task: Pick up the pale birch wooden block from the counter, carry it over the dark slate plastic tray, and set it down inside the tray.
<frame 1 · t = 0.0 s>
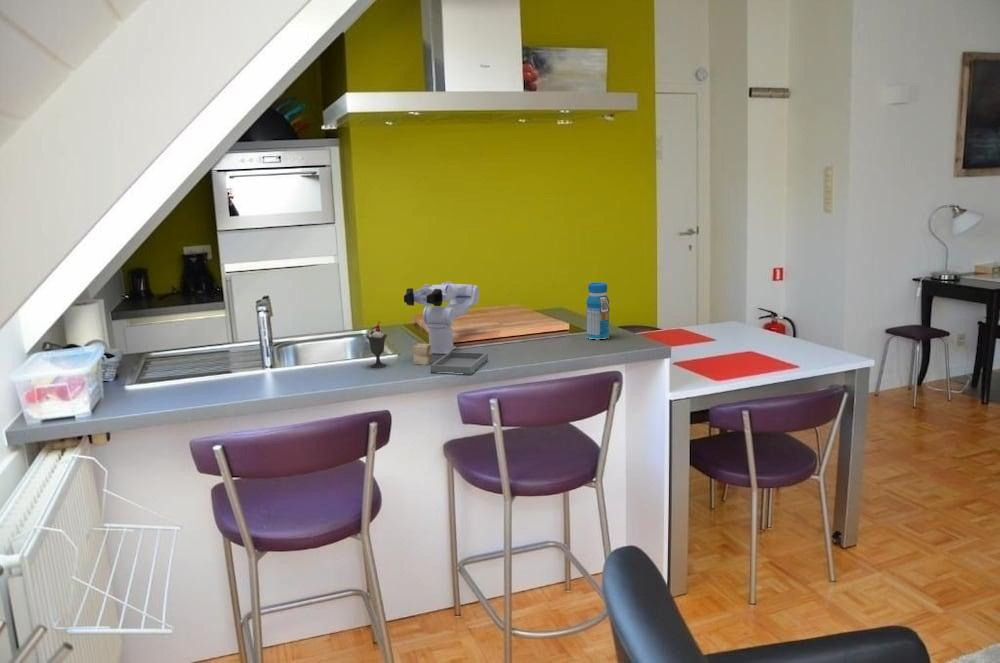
hand: (416, 299, 248), 22 cm above the worktop, tool horizontal, fingers open, 7 cm apart
tray: (460, 366, 250), on the worktop
sundae: (378, 366, 254), on the worktop
beverage bottle: (597, 338, 284), on the worktop
block: (422, 363, 256), on the worktop
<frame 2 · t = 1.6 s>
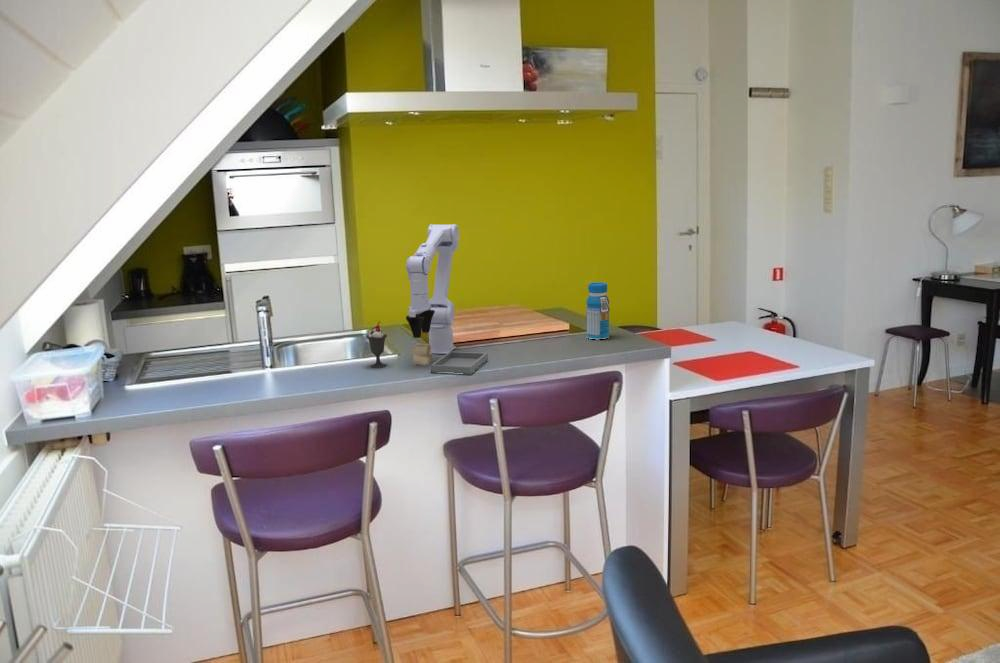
hand: (421, 334, 254), 9 cm above the worktop, tool pointing down, fingers open, 7 cm apart
nothing on the worktop moved.
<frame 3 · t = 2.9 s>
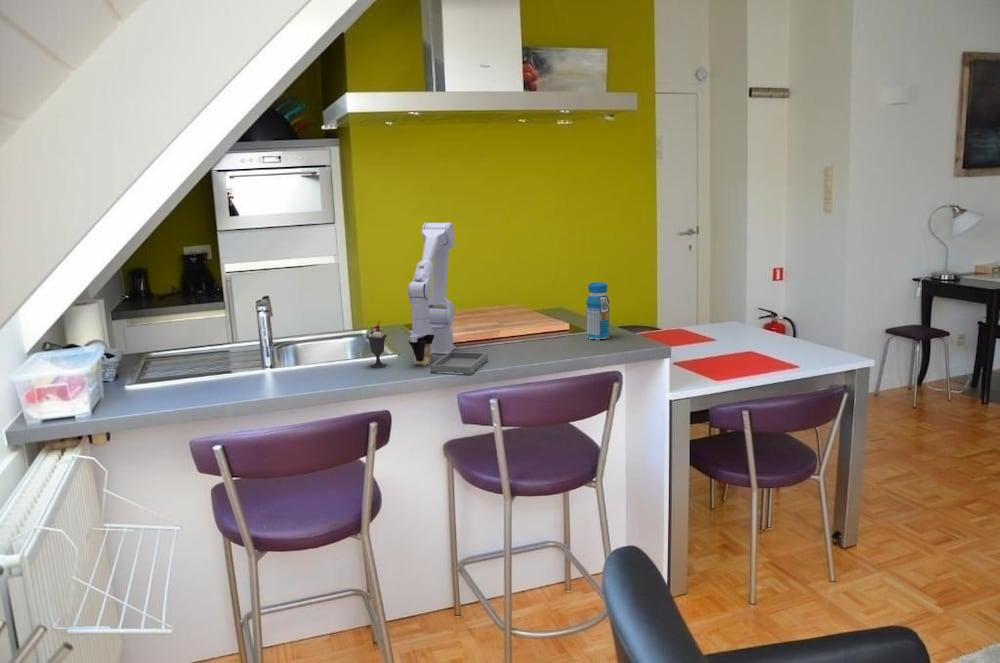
hand: (422, 358, 255), 1 cm above the worktop, tool pointing down, fingers closed on block, 4 cm apart
block: (422, 363, 256), on the worktop, touching gripper
everything else where it was.
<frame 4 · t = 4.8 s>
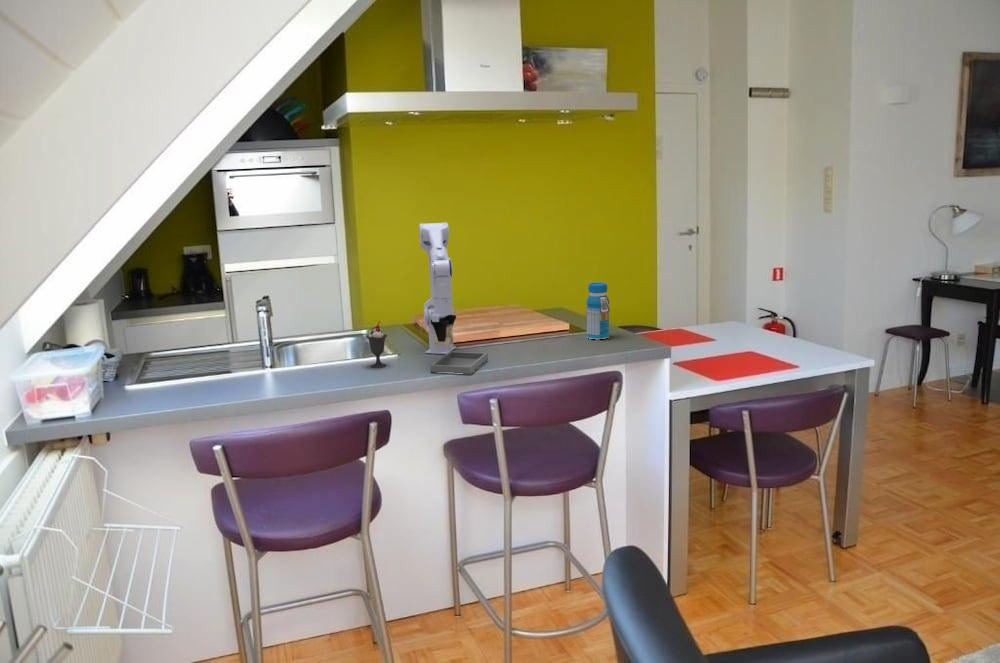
hand: (444, 339, 250), 8 cm above the worktop, tool pointing down, fingers closed on block, 4 cm apart
block: (443, 344, 251), point 7 cm above the worktop, touching gripper
everything else where it was.
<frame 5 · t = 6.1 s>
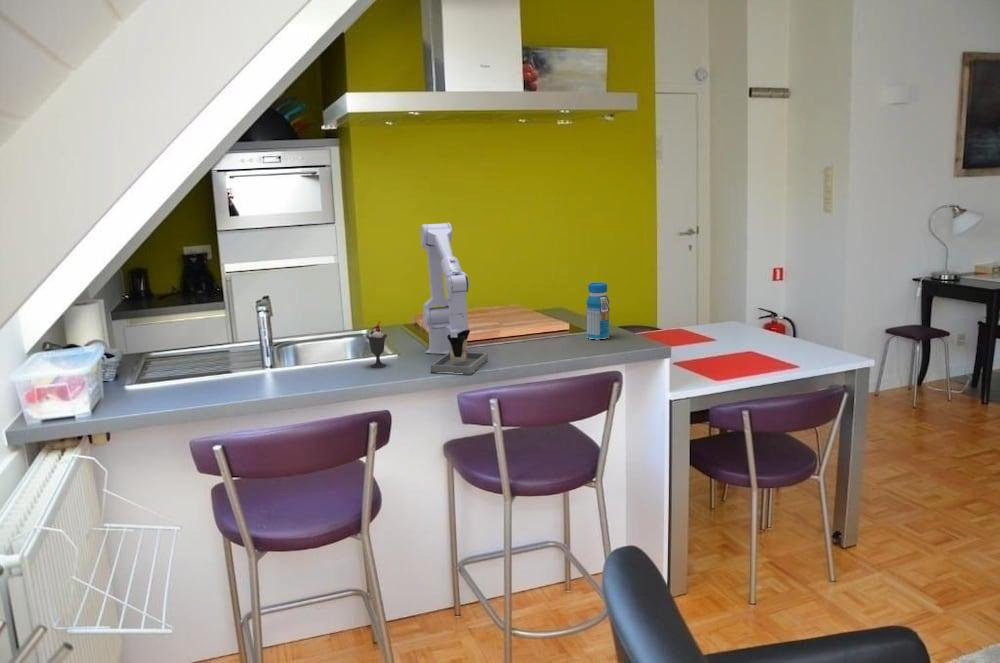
hand: (459, 354, 249), 4 cm above the worktop, tool pointing down, fingers closed on block, 4 cm apart
block: (458, 359, 250), point 2 cm above the worktop, touching gripper
everything else where it was.
when the fingers open (4 cm above the worktop, at t = 6.8 s): block drops 2 cm, resting on tray.
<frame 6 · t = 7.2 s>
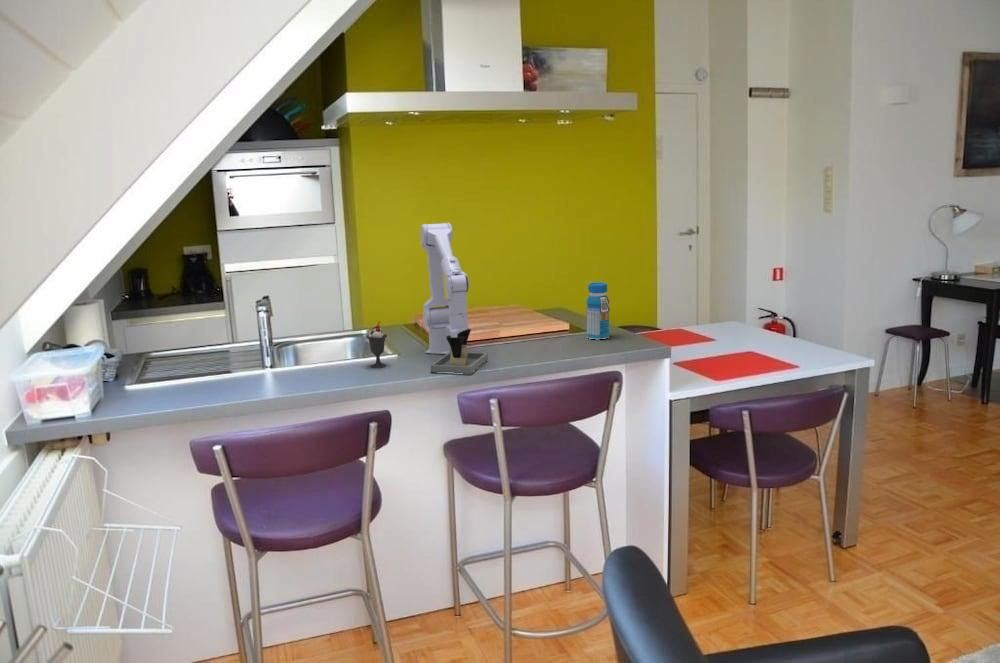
hand: (459, 354, 249), 4 cm above the worktop, tool pointing down, fingers open, 7 cm apart
block: (459, 364, 250), point 1 cm above the worktop, touching tray
everything else where it was.
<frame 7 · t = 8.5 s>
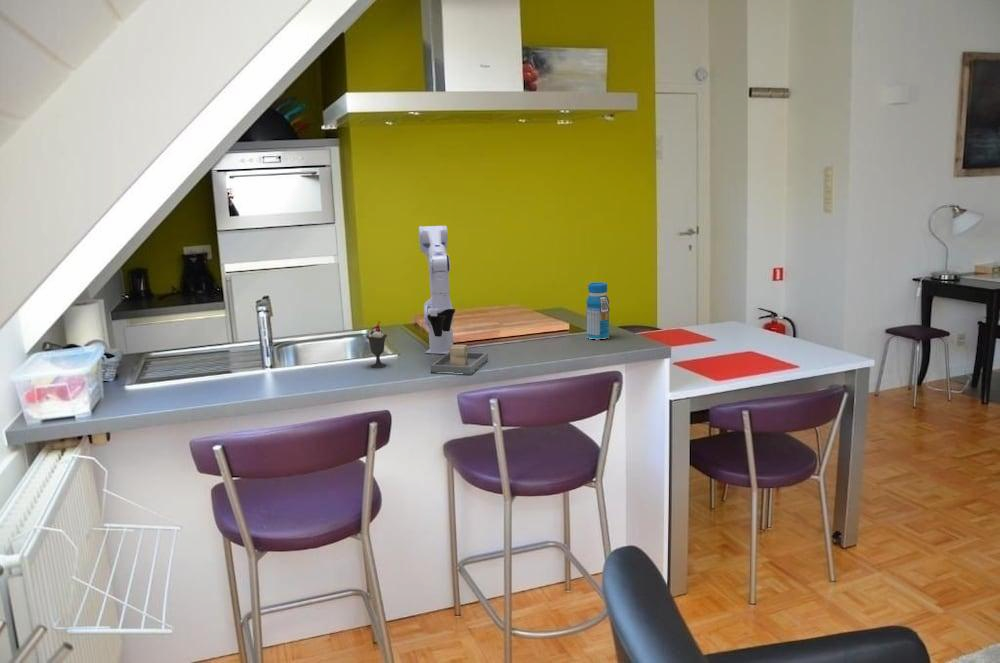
hand: (442, 333, 255), 9 cm above the worktop, tool pointing down, fingers open, 7 cm apart
nothing on the worktop moved.
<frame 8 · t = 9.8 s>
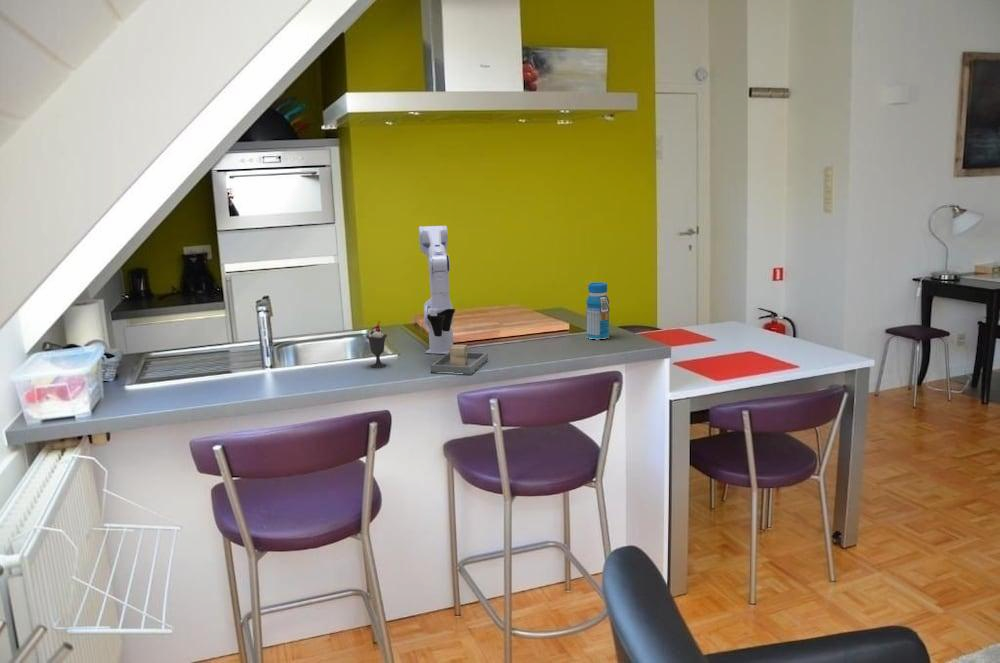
hand: (442, 333, 255), 9 cm above the worktop, tool pointing down, fingers open, 7 cm apart
nothing on the worktop moved.
at the end: block inside the target area on the tray (0.3 cm from its centre), point 0.6 cm above the tray's base; block tilted 0°; the gripper is holding nothing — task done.
